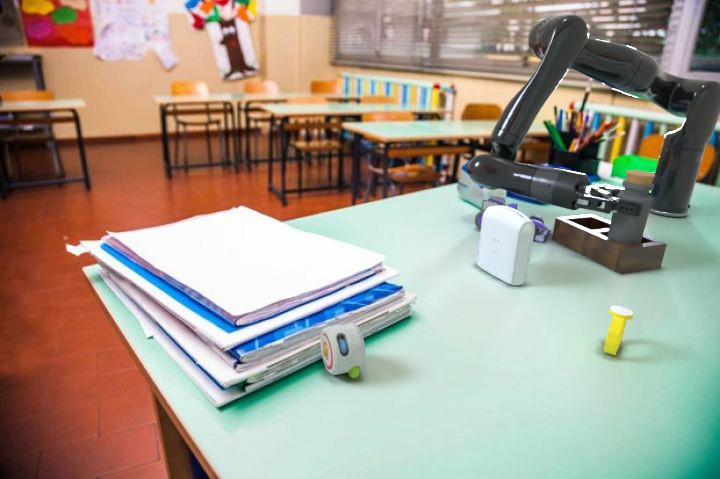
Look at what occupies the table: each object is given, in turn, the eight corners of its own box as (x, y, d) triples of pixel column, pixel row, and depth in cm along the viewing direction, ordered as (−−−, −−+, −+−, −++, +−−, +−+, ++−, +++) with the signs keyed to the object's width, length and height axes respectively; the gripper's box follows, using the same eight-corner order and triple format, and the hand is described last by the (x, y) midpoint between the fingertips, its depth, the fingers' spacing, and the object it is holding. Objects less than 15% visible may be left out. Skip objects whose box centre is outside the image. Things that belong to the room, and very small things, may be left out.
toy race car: (541, 244, 103) (546, 215, 101) (473, 229, 110) (476, 201, 108) (552, 232, 110) (557, 204, 108) (487, 219, 118) (491, 192, 116)
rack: (551, 239, 106) (555, 217, 104) (587, 235, 110) (591, 214, 108) (621, 274, 90) (627, 249, 88) (660, 268, 93) (667, 243, 92)
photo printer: (472, 265, 91) (480, 201, 87) (490, 261, 93) (499, 199, 89) (510, 288, 83) (522, 218, 78) (529, 284, 85) (542, 215, 80)
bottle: (598, 242, 98) (616, 168, 92) (626, 243, 98) (646, 169, 93) (615, 254, 92) (635, 176, 87) (644, 254, 93) (666, 177, 87)
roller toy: (331, 388, 56) (332, 344, 54) (314, 357, 62) (315, 317, 60) (366, 380, 58) (369, 337, 56) (347, 351, 64) (348, 311, 61)
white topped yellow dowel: (618, 363, 63) (629, 323, 61) (595, 356, 65) (605, 316, 63) (626, 343, 68) (636, 305, 66) (604, 336, 69) (614, 299, 67)
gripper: (546, 174, 95) (640, 194, 84) (576, 165, 105) (664, 181, 94) (539, 211, 98) (629, 235, 87) (569, 199, 107) (653, 219, 97)
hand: (647, 207), depth 90 cm, fingers closed on bottle, 6 cm apart
